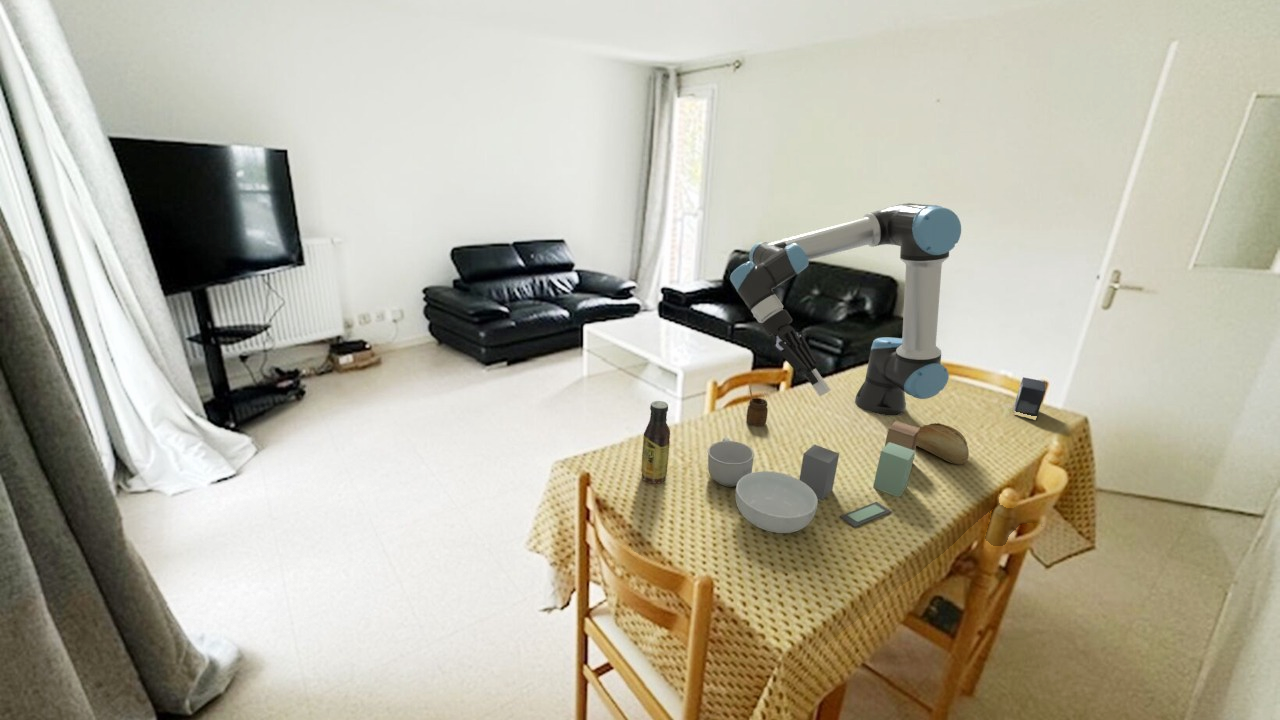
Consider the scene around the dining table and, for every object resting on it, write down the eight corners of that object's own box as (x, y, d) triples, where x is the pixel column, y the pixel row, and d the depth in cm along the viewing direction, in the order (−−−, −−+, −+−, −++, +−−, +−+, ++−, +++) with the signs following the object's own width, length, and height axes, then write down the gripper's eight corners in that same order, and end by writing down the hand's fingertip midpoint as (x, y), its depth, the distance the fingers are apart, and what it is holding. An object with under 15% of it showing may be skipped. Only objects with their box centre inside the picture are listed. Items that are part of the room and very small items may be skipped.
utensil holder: (768, 427, 154) (773, 390, 150) (746, 426, 154) (751, 389, 150) (764, 418, 159) (768, 382, 155) (743, 417, 159) (747, 381, 155)
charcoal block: (808, 480, 128) (814, 444, 124) (832, 490, 124) (839, 453, 121) (797, 490, 123) (803, 453, 120) (822, 501, 120) (829, 463, 116)
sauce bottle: (636, 473, 128) (640, 399, 121) (660, 469, 130) (664, 396, 123) (647, 488, 122) (651, 411, 115) (671, 482, 124) (676, 407, 118)
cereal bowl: (763, 554, 102) (767, 524, 100) (718, 506, 116) (721, 479, 114) (830, 534, 109) (835, 505, 106) (780, 491, 123) (783, 464, 121)
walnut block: (888, 453, 142) (895, 420, 138) (911, 462, 138) (920, 428, 135) (881, 462, 137) (888, 428, 134) (905, 470, 134) (913, 436, 130)
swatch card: (876, 503, 120) (876, 500, 120) (891, 512, 117) (891, 510, 116) (839, 517, 114) (840, 515, 114) (854, 528, 111) (855, 525, 111)
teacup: (750, 495, 121) (754, 465, 118) (703, 488, 123) (706, 458, 120) (750, 464, 134) (754, 437, 131) (708, 458, 136) (710, 431, 133)
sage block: (881, 477, 130) (889, 442, 127) (906, 487, 127) (915, 450, 123) (873, 487, 126) (881, 450, 123) (899, 497, 122) (908, 460, 119)
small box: (1013, 404, 177) (1022, 376, 173) (1036, 410, 173) (1046, 381, 170) (1012, 415, 169) (1021, 385, 165) (1036, 421, 165) (1046, 390, 162)
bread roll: (919, 438, 152) (925, 413, 149) (974, 461, 140) (982, 434, 137) (901, 446, 146) (907, 420, 144) (957, 471, 135) (964, 443, 132)
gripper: (773, 319, 143) (823, 392, 138) (749, 329, 133) (802, 407, 129) (794, 304, 138) (846, 379, 133) (771, 312, 128) (827, 394, 124)
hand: (825, 393), depth 131 cm, fingers closed
